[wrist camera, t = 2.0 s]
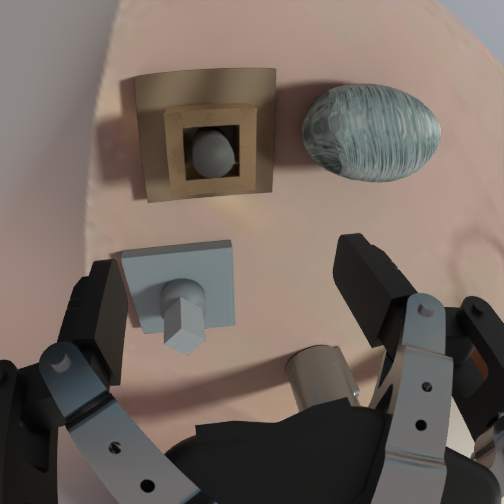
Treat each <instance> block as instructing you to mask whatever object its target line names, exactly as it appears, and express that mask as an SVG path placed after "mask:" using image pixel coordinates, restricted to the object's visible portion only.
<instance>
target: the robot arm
mask: <svg viewBox="0 0 504 504" xmlns="http://www.w3.org/2000/svg"><path fill="white" fill-rule="evenodd" d="M333 278H334V282H335V284H336V286H337V288H338V289H339V291H340V293H341V295H342V296H343V298H344V300H345V301H346V303H347V305H348V307H349V308H350V310H351V312H352V314H353V315H354V317H355V319H356V321H357V322H358V324H359V326H360V328H361V329H362V331H363V333H364V335H365V337H366V338H367V340H368V342H369V344H370V346H371V347H372V348H374V347H378V346H382V345H384V347H385V349H386V350H385V352H384V354H383V358H382V362H381V367H380V371H379V375H378V379H377V383H376V387H375V390H374V394H373V397H372V400H371V402H370V404H369V406H368V407H363V406H361V405H360V403H359V401H358V399H357V397H358V395H359V393H360V390H359V388H358V386H357V384H356V381H355V379H354V377H353V375H352V373H351V371H350V368H349V366H348V364H347V362H346V360H345V358H344V356H343V354H342V351H341V349H340V347H335V348H333V347H330V346H325V345H323V346H315V347H311V348H308V349H305V350H303V351H301V352H299V353H298V354H296V355H295V356H294V357H292V358H291V359H290V360H289V362H288V363H287V366H286V372H287V375H288V379H289V382H290V384H291V387H292V391H293V394H294V397H295V400H296V403H297V406H298V409H299V413H297V414H295V415H293V416H291V417H289V418H287V419H284V420H282V421H280V422H276V423H265V422H246V421H228V422H220V423H212V424H203V425H195V428H196V435H194V436H192V437H189V438H187V439H185V440H183V441H181V442H179V443H178V444H176V445H174V446H173V447H172V448H170V449H169V450H168V451H167V452H166V453H165V454H163V453H162V452H161V451H160V450H159V449H158V448H157V447H156V446H155V445H154V443H153V442H152V441H151V440H150V439H149V438H148V437H147V436H146V435H145V434H144V432H143V431H142V430H141V429H140V428H139V427H138V426H137V424H136V423H135V422H134V421H133V420H132V419H131V417H130V416H129V415H128V414H127V413H126V411H125V410H124V409H123V408H122V406H121V405H120V404H119V403H118V401H117V400H116V399H115V398H114V396H113V395H112V394H111V393H109V388H110V386H117V385H120V383H121V369H122V357H123V347H124V337H125V328H126V320H127V312H128V300H127V294H126V291H125V288H124V284H123V281H122V278H121V275H120V271H119V268H118V265H117V262H116V260H115V259H107V260H99V261H94V262H93V265H92V268H91V271H90V274H89V276H85V277H82V278H81V279H80V280H79V281H78V283H77V284H76V285H75V286H74V288H73V291H72V294H71V297H70V301H69V303H68V306H67V310H66V313H65V316H64V319H63V323H62V326H61V329H60V333H59V336H58V340H57V343H54V344H52V345H50V346H49V347H48V348H47V349H46V350H45V351H44V352H43V354H42V355H41V357H40V360H39V363H36V364H33V365H30V366H27V367H24V368H21V369H17V368H16V366H15V365H14V364H13V363H12V362H11V361H8V360H0V504H58V494H57V442H58V427H61V426H64V425H65V426H66V429H67V431H68V432H69V434H70V436H71V437H72V439H73V440H74V442H75V443H76V445H77V447H78V448H79V450H80V451H81V453H82V454H83V456H84V457H85V459H86V460H87V462H88V463H89V465H90V466H91V467H92V469H93V470H94V472H95V473H96V474H97V476H98V477H99V478H100V480H101V481H102V482H103V483H104V485H105V486H106V488H107V489H108V490H109V491H110V493H111V494H112V495H113V496H114V498H115V499H116V500H117V501H118V502H119V504H501V498H502V497H503V496H504V323H503V322H502V321H501V319H500V318H499V317H498V315H497V314H496V313H495V311H494V310H493V309H492V307H491V306H490V305H489V304H488V303H487V302H486V301H484V300H483V299H481V298H479V297H475V296H469V297H466V298H465V299H464V300H463V302H462V304H461V306H460V308H455V307H444V306H443V305H442V303H441V302H440V301H439V300H438V299H436V298H435V297H433V296H431V295H429V294H425V293H418V292H417V291H416V290H415V289H414V287H413V286H412V285H411V284H410V282H409V281H408V280H407V279H406V277H405V276H404V275H403V274H402V272H401V271H400V270H398V269H397V266H396V265H395V264H394V263H393V262H392V260H391V259H390V258H389V257H388V256H387V254H386V253H385V252H384V251H382V250H381V249H379V248H378V247H376V246H374V245H370V243H369V242H368V241H367V240H366V239H365V237H364V236H363V235H362V234H360V233H355V234H345V235H341V236H340V237H339V239H338V244H337V250H336V255H335V260H334V266H333ZM475 348H476V349H477V351H478V352H479V354H480V355H481V357H482V359H483V360H484V362H485V363H486V365H487V368H488V376H487V379H486V380H484V378H483V376H482V374H481V373H480V371H479V369H478V368H477V366H476V364H475V363H474V361H473V359H472V358H471V356H470V355H471V354H472V352H473V351H474V349H475ZM451 396H452V397H453V399H454V401H455V403H456V405H457V406H458V409H459V411H460V413H461V415H462V417H463V419H464V421H465V423H466V425H467V427H468V429H469V431H470V433H471V436H472V438H473V440H474V442H475V446H474V452H473V453H472V455H471V459H470V458H468V457H466V456H464V455H462V454H460V453H458V452H456V451H454V450H452V449H450V448H448V447H446V440H447V433H448V425H449V417H450V407H451Z"/></svg>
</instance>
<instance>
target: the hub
mask: <svg viewBox="0 0 504 504" xmlns="http://www.w3.org/2000/svg"><path fill="white" fill-rule="evenodd" d="M121 262H122V265H123V269H124V272H125V276H126V280H127V283H128V286H129V290H130V293H131V296H132V300H133V303H134V306H135V309H136V312H137V315H138V318H139V321H140V324H141V327H142V330H143V333H144V334H149V333H162V332H164V344H165V345H167V346H169V347H171V348H173V349H175V350H178V351H180V352H182V353H184V354H187V355H188V354H189V353H191V352H192V351H193V350H194V349H195V348H197V347H198V346H199V345H200V344H202V343H203V342H204V341H205V340H206V339H205V330H204V328H213V327H222V326H230V325H235V308H234V280H233V248H232V243H231V240H223V241H213V242H203V243H192V244H182V245H172V246H163V247H153V248H143V249H134V250H124V251H123V252H122V255H121Z"/></svg>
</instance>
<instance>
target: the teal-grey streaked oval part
mask: <svg viewBox="0 0 504 504" xmlns="http://www.w3.org/2000/svg"><path fill="white" fill-rule="evenodd" d="M440 136H441V129H440V125H439V123H438V121H437V119H436V117H435V116H434V114H433V113H432V112H431V110H430V109H429V108H428V107H426V106H425V105H424V104H423V103H422V102H421V101H419V100H418V99H416V98H415V97H413V96H411V95H409V94H408V93H405V92H403V91H401V90H398V89H395V88H391V87H387V86H382V85H376V84H348V85H342V86H338V87H335V88H332V89H330V90H328V91H327V92H325V93H324V94H322V95H321V96H320V97H319V98H318V99H317V100H316V101H315V102H314V103H313V104H312V105H311V107H310V109H309V110H308V112H307V114H306V117H305V119H304V122H303V126H302V140H303V144H304V147H305V149H306V151H307V153H308V154H309V156H310V157H311V158H312V159H313V160H314V161H315V162H316V163H318V164H319V165H320V166H322V167H323V168H325V169H326V170H328V171H330V172H332V173H334V174H337V175H339V176H342V177H346V178H349V179H352V180H360V181H368V182H390V181H395V180H398V179H401V178H404V177H407V176H409V175H411V174H413V173H415V172H417V171H418V170H419V169H421V168H422V167H423V166H424V165H425V164H426V163H427V162H428V161H429V160H430V158H431V157H432V156H433V154H434V153H435V151H436V149H437V147H438V144H439V140H440Z"/></svg>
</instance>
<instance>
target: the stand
mask: <svg viewBox="0 0 504 504" xmlns="http://www.w3.org/2000/svg"><path fill="white" fill-rule="evenodd" d="M134 78H135V94H136V107H137V118H138V129H139V139H140V148H141V157H142V165H143V172H144V180H145V187H146V194H147V201H148V203H152V202H161V201H171V200H181V199H191V198H202V197H213V196H226V195H239V194H253V193H268V192H272V182H273V156H274V128H275V97H276V69H274V68H218V69H198V70H184V71H173V72H163V73H155V74H147V75H139V76H135V77H134ZM220 103H250V104H252V105H253V106H255V107H256V108H257V121H256V183H255V190H248V191H234V192H221V193H209V194H198V195H187V196H177V197H171V188H170V178H169V168H168V158H167V146H166V134H165V121H164V113H165V110H166V108H168V107H178V106H189V105H203V104H220ZM183 130H184V146H185V160H186V168H187V167H195V169H196V170H197V172H198V173H199V174H201V175H202V176H204V177H207V178H218V177H221V176H223V175H225V174H226V173H227V172H229V170H230V169H231V168H232V166H233V164H234V125H220V126H205V127H192V128H183Z"/></svg>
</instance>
